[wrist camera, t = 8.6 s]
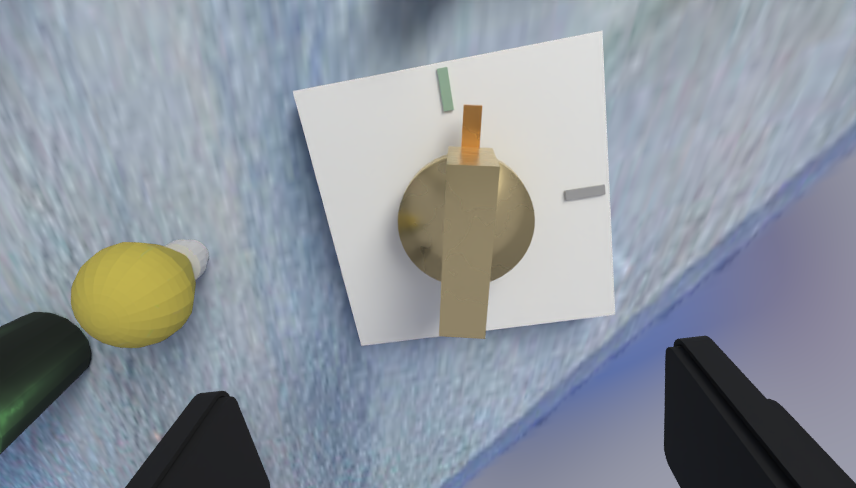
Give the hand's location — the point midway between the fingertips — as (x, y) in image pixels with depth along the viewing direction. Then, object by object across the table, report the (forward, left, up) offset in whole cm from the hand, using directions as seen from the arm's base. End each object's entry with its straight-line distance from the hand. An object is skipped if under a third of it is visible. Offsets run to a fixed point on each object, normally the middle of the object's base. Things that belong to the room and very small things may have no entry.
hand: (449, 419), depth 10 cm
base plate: (0, -2, -24) cm, 24 cm away
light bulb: (-21, -3, -24) cm, 32 cm away
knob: (+1, -1, -20) cm, 20 cm away
